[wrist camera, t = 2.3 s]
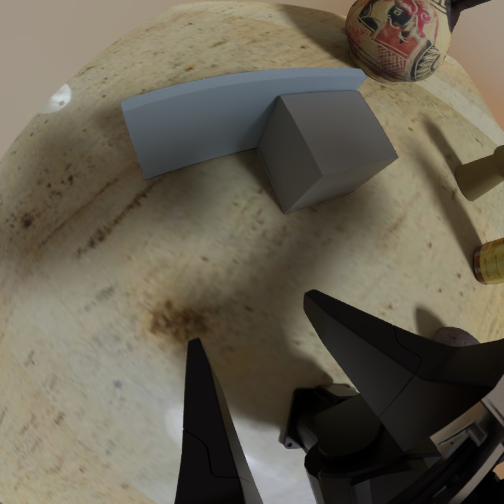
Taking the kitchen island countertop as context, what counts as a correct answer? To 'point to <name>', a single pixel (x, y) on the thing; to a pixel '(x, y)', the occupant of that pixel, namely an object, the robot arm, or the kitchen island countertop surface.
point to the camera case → (322, 147)
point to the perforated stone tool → (455, 337)
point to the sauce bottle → (490, 262)
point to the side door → (218, 113)
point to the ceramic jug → (402, 36)
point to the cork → (481, 174)
